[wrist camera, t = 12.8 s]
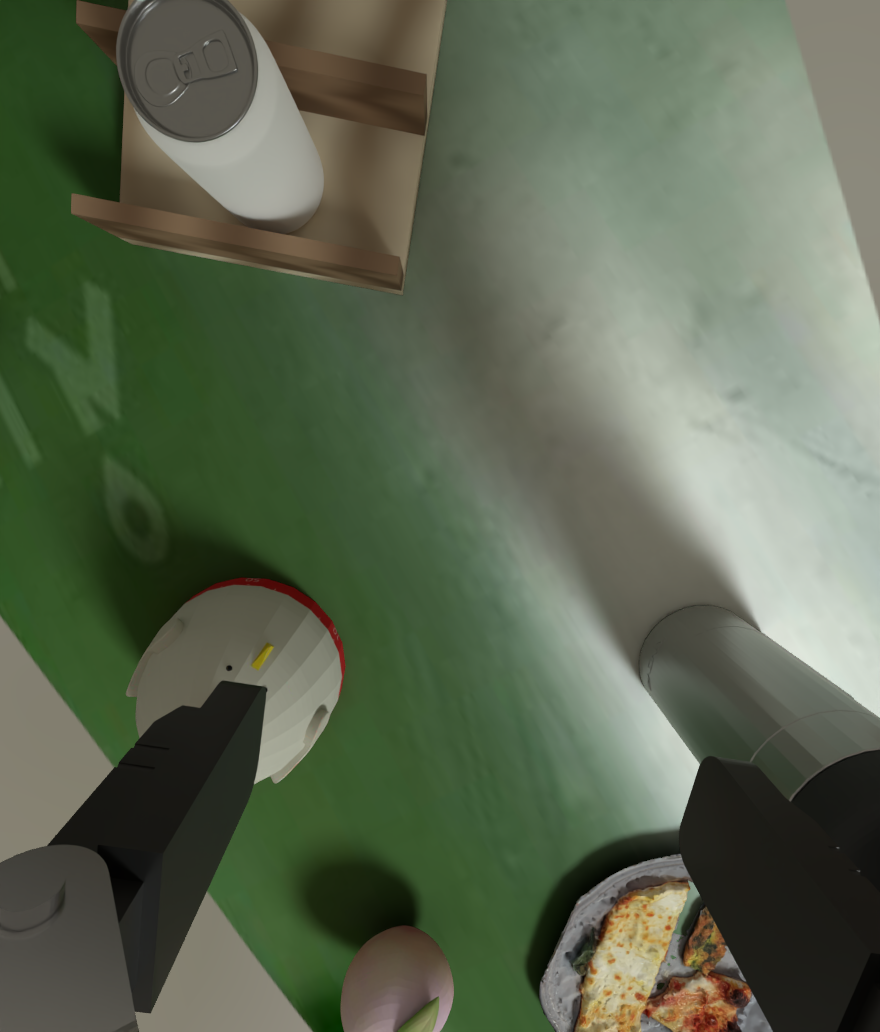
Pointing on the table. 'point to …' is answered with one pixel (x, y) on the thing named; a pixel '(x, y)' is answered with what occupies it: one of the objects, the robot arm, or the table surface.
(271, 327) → the table surface
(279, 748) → the kitchen timer
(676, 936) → the food plate
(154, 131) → the can
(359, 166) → the rack
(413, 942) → the decorative fruit
